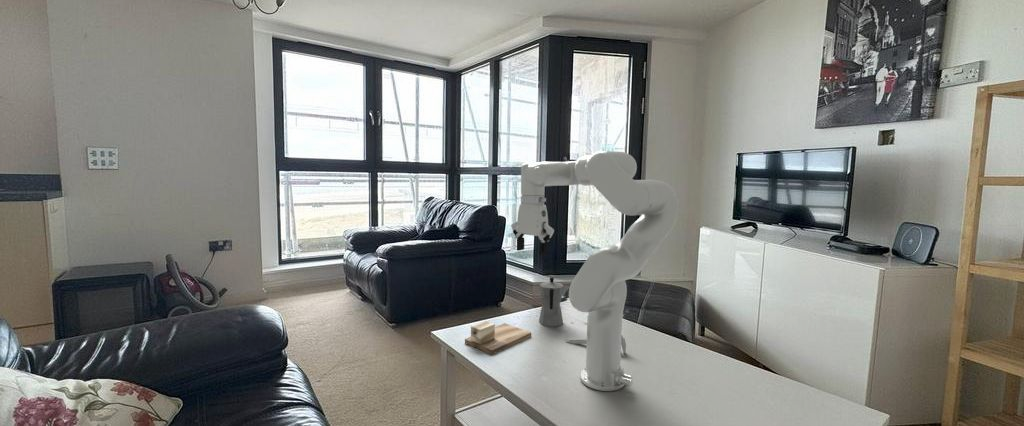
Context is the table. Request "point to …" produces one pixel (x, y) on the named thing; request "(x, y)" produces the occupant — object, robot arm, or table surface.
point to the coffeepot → (551, 303)
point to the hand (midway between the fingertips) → (531, 251)
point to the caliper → (584, 341)
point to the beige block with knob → (482, 332)
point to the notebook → (501, 339)
